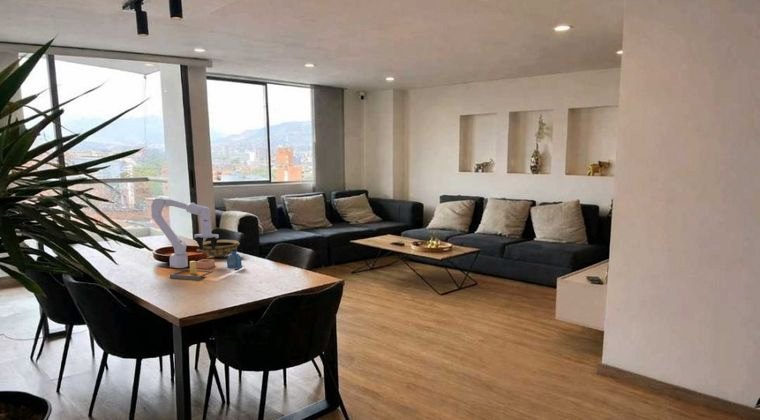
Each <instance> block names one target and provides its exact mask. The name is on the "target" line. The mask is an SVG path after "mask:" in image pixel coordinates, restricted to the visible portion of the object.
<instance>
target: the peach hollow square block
mask: <svg viewBox="0 0 760 420" xmlns="http://www.w3.org/2000/svg"><path fill="white" fill-rule="evenodd" d="M215 261H216V259H210V258H207V259H205V258H202V259H199V260H197V261H196V269H204V270H207V269H210V268H212V267H215V266H216V262H215Z"/></svg>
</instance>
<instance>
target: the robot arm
mask: <svg viewBox="0 0 760 420" xmlns="http://www.w3.org/2000/svg"><path fill="white" fill-rule="evenodd" d="M150 206H151V207H150V208H151V211H150V212H151V218H152V219H153V220H154V221H153V222H155V223H156V225H157V226H158V227H159V229H160V230H161V232H162V233H163V234H164V236H165V237H166V238H167V239H168V241H169V242H170V244H171V246H172V247H173V250H174V253H172V254H171V255H170V256H169V268H175V269H186V268H187V267H189V260H188V252H187V251H186V250H187V244H186V243H185V241H183V240H181V239H180V237H178V235H177V234H176V233H175V231H174V230H173V229H172V227H171V225H169V223H168V221H166V219H165V218H164V217H163V215H162V212H163V209H164V208H168V207H175V208H179V209H183V210H185V211H186V212H187V213H190V214H193V215H196V216H199V215H200V233H196V234H194V240H195V241H196V243H197V245H198V249H200V250H203V242H204V239H209V241H211V246H212V250H215V246H216V242H217V240H219V238H220V237H219V236H220V235H219V234H217V233H212V221H211V209H210V208H209V207H208V206H205V205H203V204H201V205H199V204H197V203H195V202H194V201H193V202H189V203H185V202H183V201H179V200H175V199H171V198H168V197H162V196H157V197H156V198H155V199H154V200H153V201H152V202H151V205H150Z"/></svg>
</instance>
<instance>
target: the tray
mask: <svg viewBox="0 0 760 420" xmlns="http://www.w3.org/2000/svg"><path fill="white" fill-rule="evenodd" d="M185 271H189V272H190V268H182V269H181V270H179V271H175V272H173V273H170V274H169V278H170V279H175V280H176V279H177V280H189V281H190V280H191V281H201V280H203V279H206V278H207V276H206V275H208V274H211V273H213V272H214V271H213V270H207V269H204V270H203V269H196V272H201V273H202V274H200V275H192V274H190V275H188V274H179V273H182V272H185Z"/></svg>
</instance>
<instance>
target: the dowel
mask: <svg viewBox="0 0 760 420" xmlns="http://www.w3.org/2000/svg"><path fill="white" fill-rule="evenodd" d="M196 262H197V261H196V260H190V261H189V269H190V271H189V274H190V275H196V274H197V271H196V270H197V268H196Z"/></svg>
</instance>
